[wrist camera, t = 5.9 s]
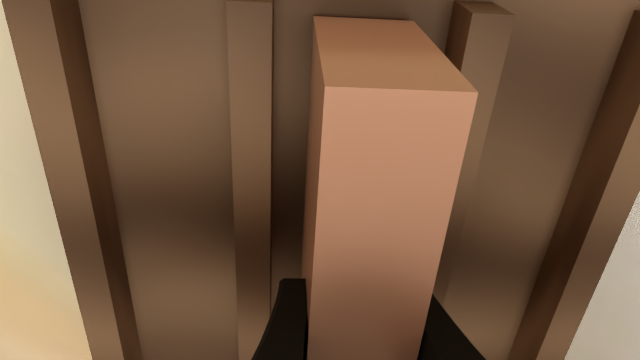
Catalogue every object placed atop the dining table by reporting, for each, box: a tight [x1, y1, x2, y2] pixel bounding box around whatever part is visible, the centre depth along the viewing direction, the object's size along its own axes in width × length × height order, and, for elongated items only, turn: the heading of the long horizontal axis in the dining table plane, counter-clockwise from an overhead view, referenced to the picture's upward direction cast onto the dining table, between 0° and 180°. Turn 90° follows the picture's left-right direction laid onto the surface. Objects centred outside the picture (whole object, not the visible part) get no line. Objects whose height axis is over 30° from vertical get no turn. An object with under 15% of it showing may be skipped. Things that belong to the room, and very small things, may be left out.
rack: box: [2, 0, 640, 360], centre depth 16 cm, size 16×17×2 cm
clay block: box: [300, 16, 479, 360], centre depth 14 cm, size 14×2×5 cm, turn 177°
